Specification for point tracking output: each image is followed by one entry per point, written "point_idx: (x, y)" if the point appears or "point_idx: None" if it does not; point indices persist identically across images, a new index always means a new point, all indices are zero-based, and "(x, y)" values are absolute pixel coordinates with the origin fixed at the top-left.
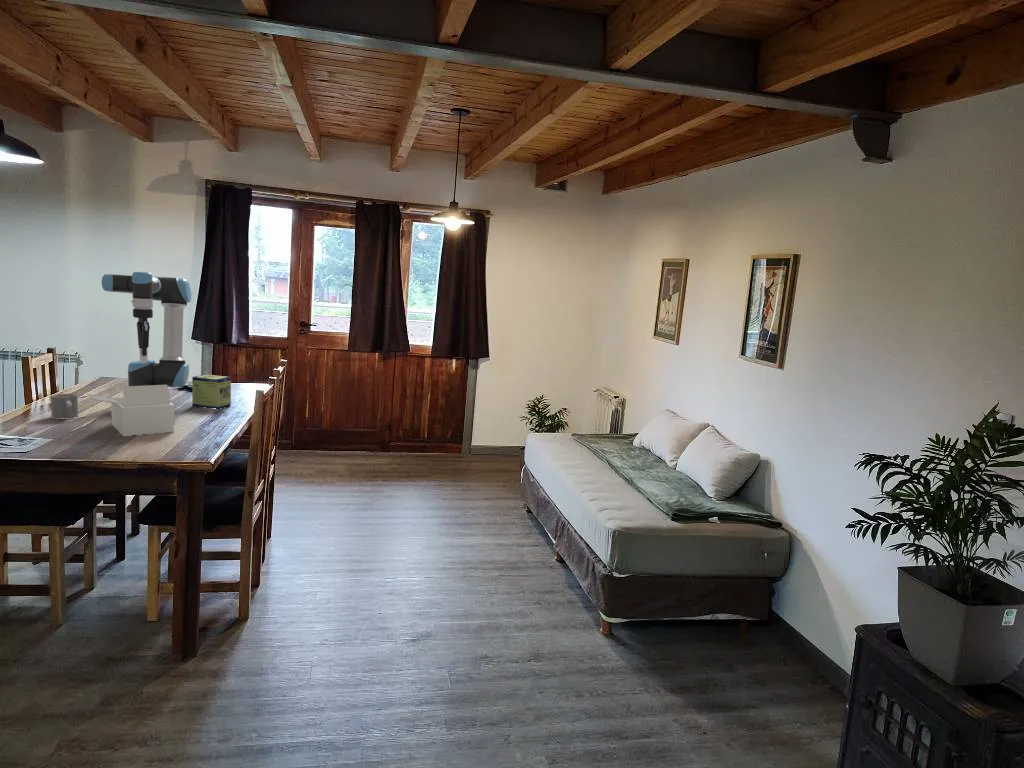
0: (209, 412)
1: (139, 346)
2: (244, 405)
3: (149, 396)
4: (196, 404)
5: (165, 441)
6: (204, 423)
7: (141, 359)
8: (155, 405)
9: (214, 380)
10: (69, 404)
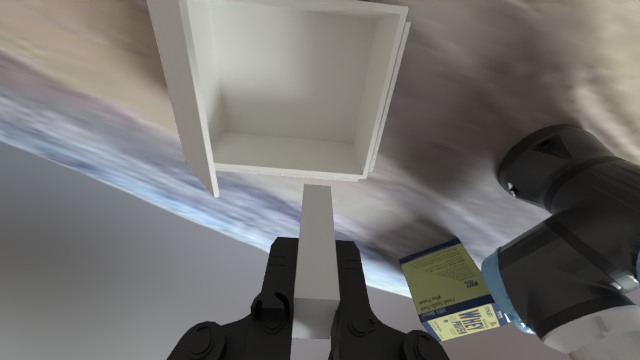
0: (385, 242)
1: (351, 320)
2: (404, 293)
3: (181, 108)
4: (450, 246)
5: (122, 81)
6: (290, 207)
7: (302, 208)
8: (359, 152)
9: (431, 316)
10: None
